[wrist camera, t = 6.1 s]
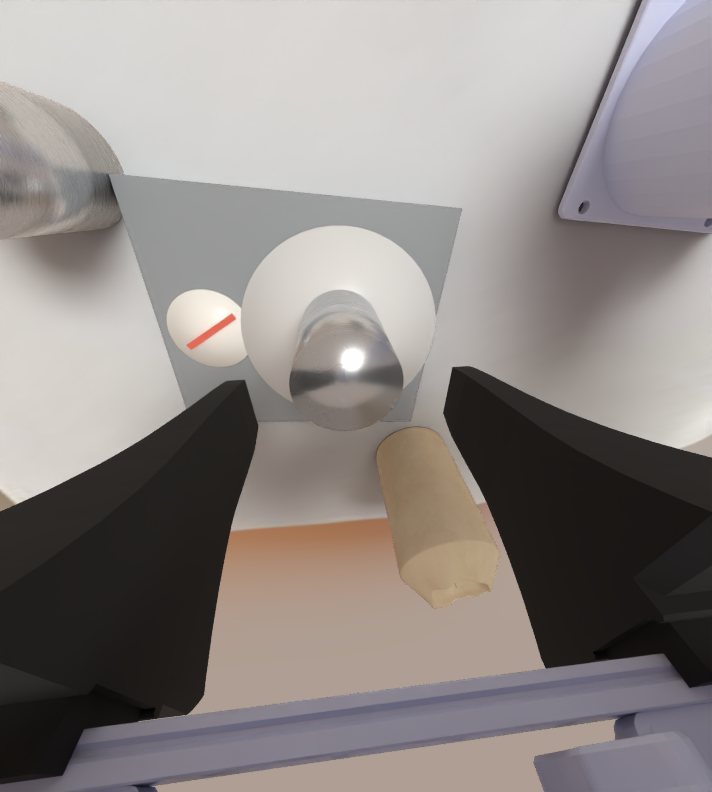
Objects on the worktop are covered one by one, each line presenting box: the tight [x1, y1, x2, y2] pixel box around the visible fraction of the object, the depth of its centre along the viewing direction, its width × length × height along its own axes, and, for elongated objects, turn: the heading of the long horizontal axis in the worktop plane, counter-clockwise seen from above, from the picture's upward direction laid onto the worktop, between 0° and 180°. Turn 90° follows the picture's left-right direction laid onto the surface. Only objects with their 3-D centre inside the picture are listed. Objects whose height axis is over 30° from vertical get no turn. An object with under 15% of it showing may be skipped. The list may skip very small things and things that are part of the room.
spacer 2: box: [289, 290, 404, 431], centre depth 12 cm, size 4×4×6 cm
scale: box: [109, 174, 462, 421], centre depth 15 cm, size 14×12×1 cm
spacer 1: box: [0, 81, 124, 240], centre depth 9 cm, size 4×4×6 cm
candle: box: [377, 427, 500, 609], centre depth 18 cm, size 6×6×10 cm
